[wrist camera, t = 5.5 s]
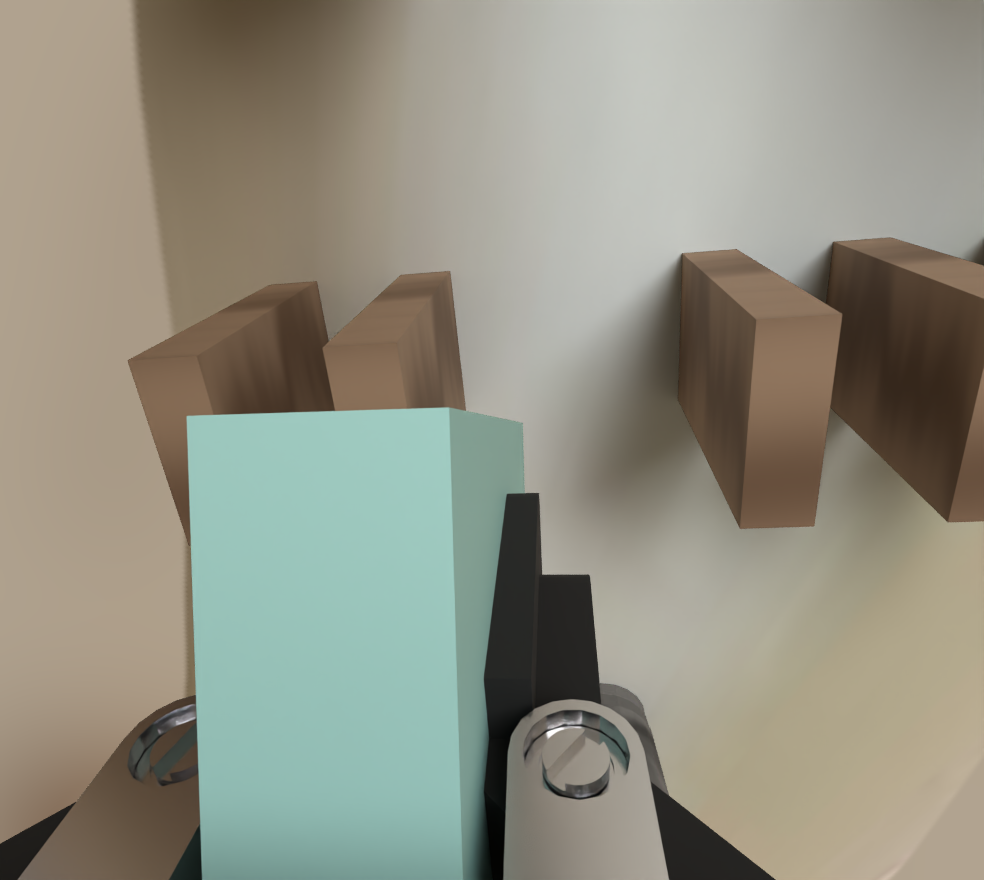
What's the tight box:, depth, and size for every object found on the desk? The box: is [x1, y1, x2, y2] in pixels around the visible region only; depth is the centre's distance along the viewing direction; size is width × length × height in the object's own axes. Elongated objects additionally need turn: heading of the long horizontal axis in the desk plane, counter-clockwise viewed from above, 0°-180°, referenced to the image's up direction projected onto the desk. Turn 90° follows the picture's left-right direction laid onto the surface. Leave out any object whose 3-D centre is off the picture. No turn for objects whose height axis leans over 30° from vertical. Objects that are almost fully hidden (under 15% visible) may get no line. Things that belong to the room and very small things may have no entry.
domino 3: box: [678, 249, 842, 529], centre depth 22 cm, size 6×2×10 cm, turn 5°
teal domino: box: [187, 407, 525, 880], centre depth 10 cm, size 6×2×10 cm, turn 4°
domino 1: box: [128, 281, 335, 546], centre depth 24 cm, size 6×2×10 cm, turn 5°
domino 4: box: [826, 238, 984, 522], centre depth 21 cm, size 6×2×10 cm, turn 5°
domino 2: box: [323, 271, 466, 411], centre depth 23 cm, size 6×2×10 cm, turn 5°
